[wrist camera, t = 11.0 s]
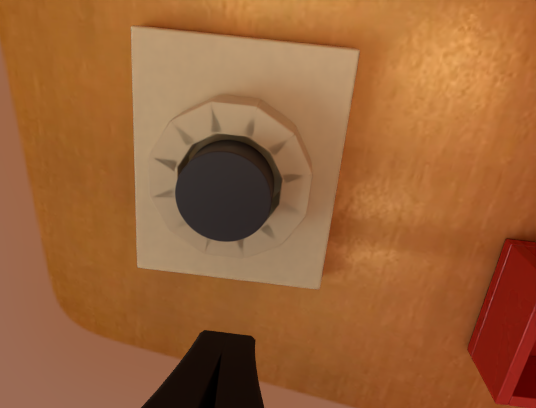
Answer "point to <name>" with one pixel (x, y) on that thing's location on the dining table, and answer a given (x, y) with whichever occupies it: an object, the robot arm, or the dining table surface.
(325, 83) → the dial knob panel
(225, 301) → the dining table surface
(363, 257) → the dining table surface
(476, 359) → the red rectangular open box
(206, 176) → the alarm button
